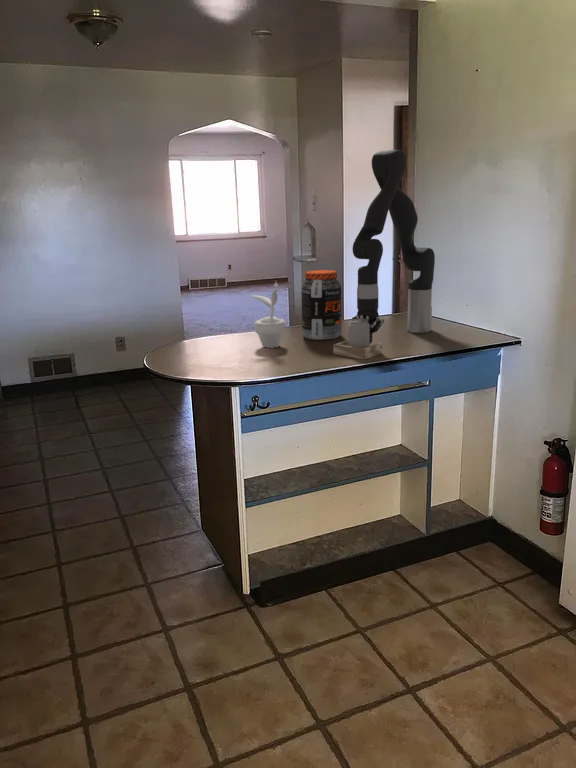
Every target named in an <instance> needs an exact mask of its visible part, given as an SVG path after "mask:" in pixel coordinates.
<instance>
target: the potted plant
mask: <svg viewBox="0 0 576 768" xmlns="http://www.w3.org/2000/svg"><path fill="white" fill-rule="evenodd" d="M273 286H274V288H275V289H274V290H273V292H272V293H271V297H270V298H269V297H267V296H263V295H257V294H256V295H255V294H252V295H251V296H252V298H254V299H256V300H259V301H260V302H261V303H263V304H264V305H265V306H267V307H268V308H270V312H269V315H270V316H266V317H262V318H260V319H258V320H255V321H254V331H255V333H256V334H257V336H258V337H259V340H260V342H261V345H262V347H264V348H265V347H267V348H266V349H275V348H274V347H276V348H278V347H279V346H280V345H281V342H282V339H283V336H284V333H285V332H287V329H286V328H287V324H286V322H287V321H286V320H285V319H284V318H277V317H276V315H275V314H274V313H275V305H276V304H277V302H278V292H279V293H281V292H282V290H281V287H278V286H279V284H278V283H277V281H275V283H274V284H273ZM277 287H278V288H277ZM274 315H275V316H274Z"/></svg>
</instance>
